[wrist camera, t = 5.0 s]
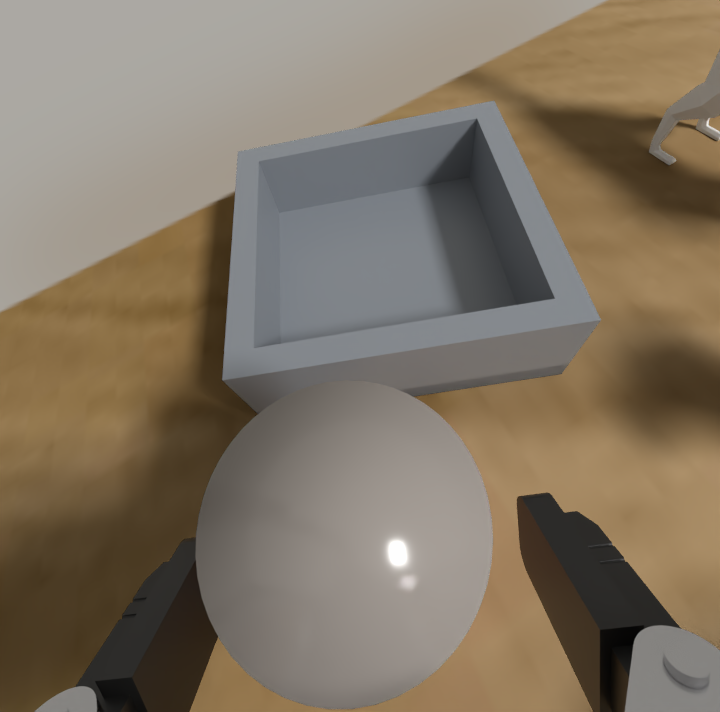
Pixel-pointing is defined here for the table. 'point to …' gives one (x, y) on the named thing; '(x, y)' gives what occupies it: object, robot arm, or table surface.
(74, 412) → the table surface
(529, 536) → the robot arm
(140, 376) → the table surface
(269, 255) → the bin
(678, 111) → the cat figurine
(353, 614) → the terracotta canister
